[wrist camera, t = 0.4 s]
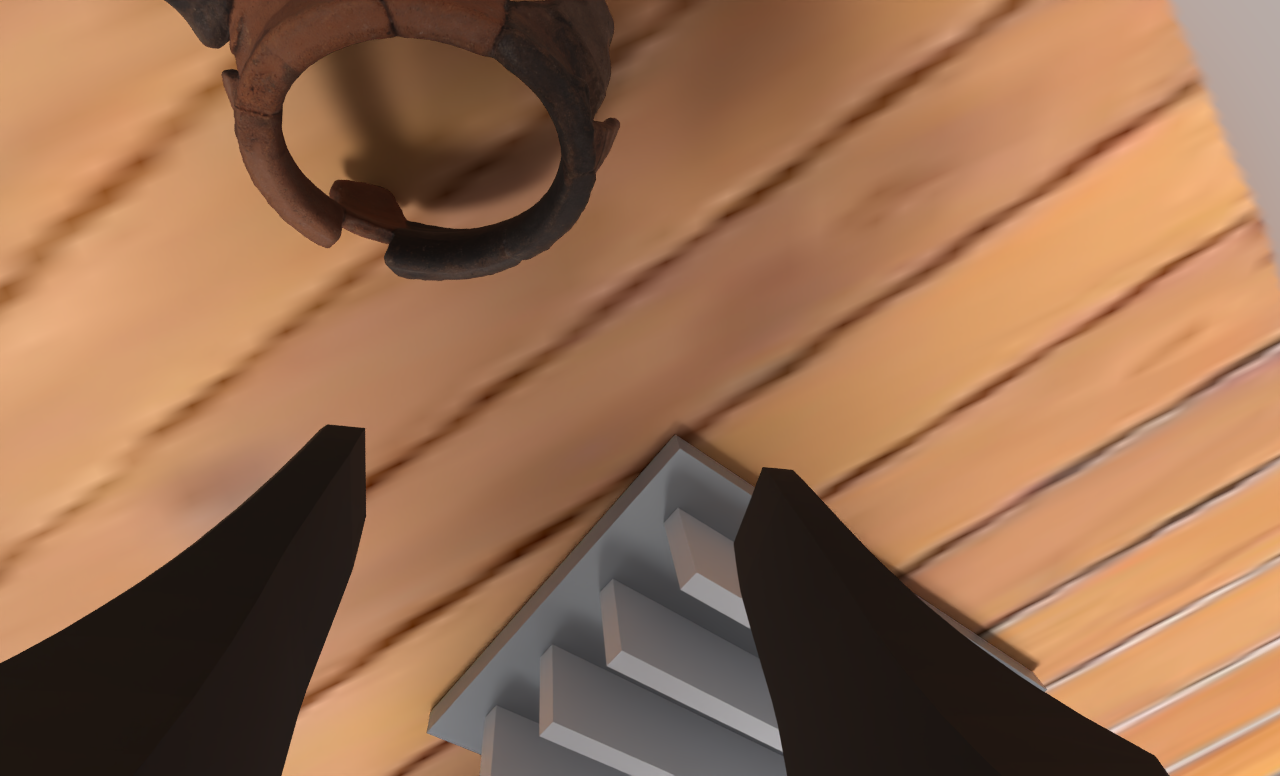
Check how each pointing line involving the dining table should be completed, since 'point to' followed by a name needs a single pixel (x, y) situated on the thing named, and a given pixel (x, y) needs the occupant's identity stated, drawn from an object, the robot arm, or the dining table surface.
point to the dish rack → (636, 647)
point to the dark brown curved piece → (440, 11)
